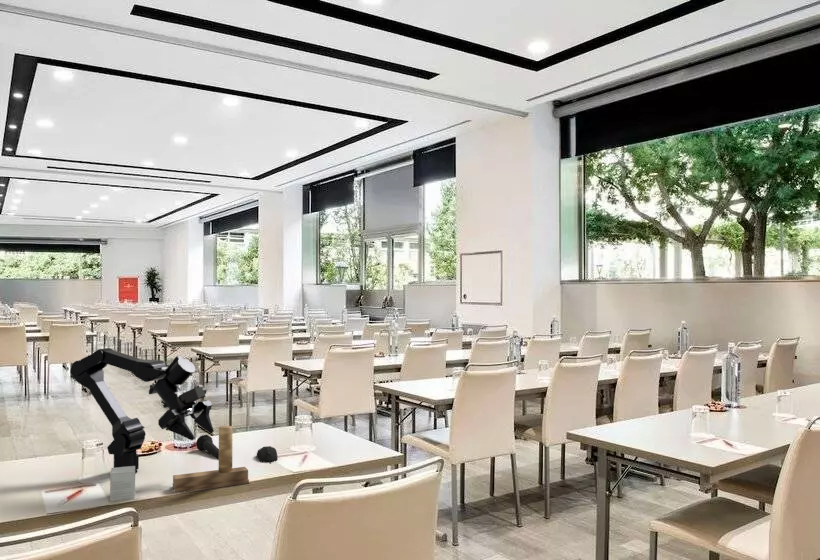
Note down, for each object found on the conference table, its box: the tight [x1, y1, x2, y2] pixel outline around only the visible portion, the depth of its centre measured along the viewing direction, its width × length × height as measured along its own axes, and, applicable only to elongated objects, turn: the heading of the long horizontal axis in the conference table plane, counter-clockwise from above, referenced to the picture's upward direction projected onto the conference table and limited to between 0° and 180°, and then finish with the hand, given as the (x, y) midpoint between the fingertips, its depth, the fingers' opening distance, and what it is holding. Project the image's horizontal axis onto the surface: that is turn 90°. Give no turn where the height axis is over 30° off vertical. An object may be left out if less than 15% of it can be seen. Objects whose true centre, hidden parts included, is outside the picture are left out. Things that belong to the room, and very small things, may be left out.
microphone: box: [195, 434, 219, 460], centre depth 221 cm, size 6×6×20 cm
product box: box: [109, 466, 136, 502], centre depth 177 cm, size 6×6×7 cm
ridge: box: [172, 466, 250, 493], centre depth 187 cm, size 20×6×4 cm, turn 117°
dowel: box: [218, 425, 234, 473], centre depth 189 cm, size 4×4×12 cm
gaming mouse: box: [256, 445, 278, 465], centre depth 216 cm, size 6×15×4 cm, turn 19°
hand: (203, 435), depth 191 cm, fingers open, 9 cm apart
